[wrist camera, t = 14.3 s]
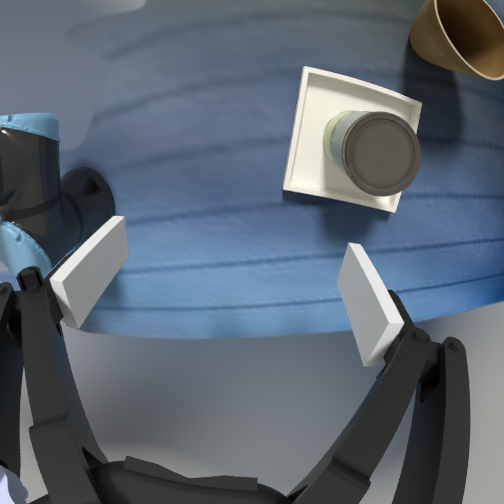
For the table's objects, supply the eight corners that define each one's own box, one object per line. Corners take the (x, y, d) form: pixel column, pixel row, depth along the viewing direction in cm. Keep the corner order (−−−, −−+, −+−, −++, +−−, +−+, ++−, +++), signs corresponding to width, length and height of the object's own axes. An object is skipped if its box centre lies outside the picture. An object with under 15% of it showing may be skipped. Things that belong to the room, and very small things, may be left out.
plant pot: (468, 62, 29) (523, 61, 15) (424, 93, 34) (480, 96, 20) (423, -2, 24) (469, -25, 10) (372, 24, 29) (414, -4, 16)
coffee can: (374, 105, 36) (414, 107, 24) (385, 164, 41) (424, 189, 29) (314, 115, 38) (333, 118, 26) (329, 175, 43) (351, 204, 31)
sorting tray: (282, 184, 45) (283, 189, 43) (302, 69, 35) (304, 66, 33) (388, 206, 45) (394, 212, 43) (414, 102, 35) (422, 103, 33)
